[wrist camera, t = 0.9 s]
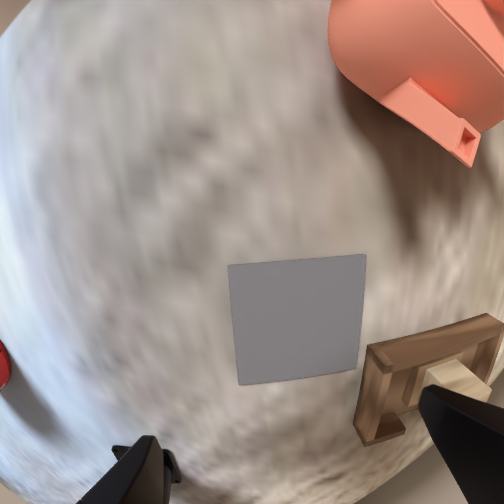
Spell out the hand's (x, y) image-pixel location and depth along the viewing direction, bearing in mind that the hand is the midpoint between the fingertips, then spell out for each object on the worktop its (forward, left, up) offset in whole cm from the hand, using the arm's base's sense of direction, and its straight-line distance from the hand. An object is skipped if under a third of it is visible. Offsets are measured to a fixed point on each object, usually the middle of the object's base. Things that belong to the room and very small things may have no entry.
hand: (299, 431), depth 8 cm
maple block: (-11, -17, -11) cm, 23 cm away
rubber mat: (-3, -3, -13) cm, 14 cm away
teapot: (+18, -11, -14) cm, 25 cm away
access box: (-11, -17, -13) cm, 24 cm away
